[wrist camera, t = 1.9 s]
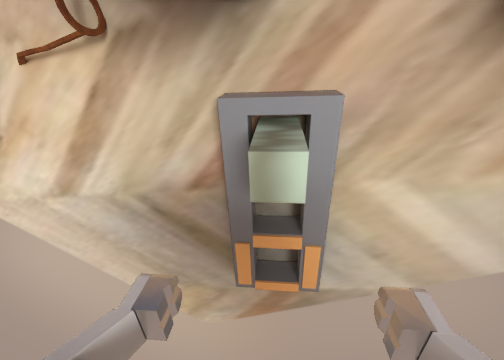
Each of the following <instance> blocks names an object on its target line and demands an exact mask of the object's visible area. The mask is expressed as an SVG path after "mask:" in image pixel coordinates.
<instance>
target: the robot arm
mask: <svg viewBox="0 0 504 360" xmlns="http://www.w3.org/2000/svg"><path fill="white" fill-rule="evenodd" d="M178 282H179V281H178V277H177V276H169V275H157V274H143V273H142V274H140V275H139V276H138V277H137V279H136V280H135V282H134V283H133V285H132V286H131V288H130V290H129V291H128V293H127V294H126V296H125V297H124V299H123V300H122V302H121V303H120V305H119V307H118V308H117V309H113V310H111V311H110V312H108V313H107V314H106V315H104V316H103V317H101V318H100V319H98V320H97V321H96V322H94V323H93V324H92V325H90V326H89V327H87V328H86V329H85V330H83V331H82V332H80V333H79V334H77V335H76V336H75V337H73V338H72V339H70V340H69V341H68V342H66V343H65V344H63V345H62V346H61V347H59V348H58V349H56V350H55V351H54V352H52V353H51V354H49V355H48V356H47V357H45V358H44V359H43V360H128V359H129V358H130V357H131V356H132V355H133V354H134V353H135V352H136V351H137V350H138V349H139V348H140V347H141V346H142V345H143V344H144V343H145V342H146V340H164V341H167V339H168V336H169V334H170V331H171V329H172V326H173V320H172V318H173V317H174V316H175V315H176V314H177V313H178V311H179V308H180V305H181V300H182V292H181V289H180V288H179V287H178V286H177V285H178ZM378 295H379V297H380V298H379V299H378V300H376V301H375V305H374V315H375V319H376V322H377V325H378V328H379V329H381V331H382V332H383V333H384V334H385V335H384V339H383V342H384V344H385V347H386V349H387V352H388V355H389V357H390V360H492V359H491V358H490V357H488V356H487V355H486V354H484V353H483V352H482V351H480V350H479V349H478V348H477V347H475V346H474V345H473V344H471V343H470V342H469V341H467V340H466V339H465V338H464V337H462V336H461V335H460V334H454V332H453V331H452V329H451V328H450V326H449V324H448V323H447V321H446V320H445V318H444V317H443V315H442V314H441V312H440V310H439V309H438V307H437V306H436V304H435V303H434V301H433V300H432V298H431V297H430V295H429V294H428V292H427V291H426V290H424V289H411V288H395V287H381V288H380V289H379V291H378Z"/></svg>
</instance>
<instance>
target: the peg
mask: <svg viewBox="0 0 504 360" xmlns="http://www.w3.org/2000/svg"><path fill="white" fill-rule="evenodd" d="M308 159H309V150H308V147H307V143H306V140H305V137H304V134H303V130H302V127H301V124H300V121H299V117H298V116H260V118H259V121H258V124H257V127H256V130H255V133H254V136H253V139H252V142H251V144H250V147H249V150H248V160H249V181H250V201H251V202H265V203H305V198H306V185H307V172H308Z"/></svg>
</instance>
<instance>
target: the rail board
mask: <svg viewBox="0 0 504 360" xmlns="http://www.w3.org/2000/svg"><path fill="white" fill-rule="evenodd" d="M344 97H345V95H343V94H342V93H340V92H338V91H337V90H322V91H285V92H249V93H225V94H223V95H222V96H220V97H219V98H217V102H218V112H219V122H220V131H221V141H222V151H223V161H224V171H225V181H226V191H227V201H228V210H229V220H230V230H231V240H232V250H233V260H234V270H235V279H236V287H251V288H255V289H261V290H276V291H291V292H298V291H313V292H319V284H320V277H321V269H322V262H323V254H324V247H325V239H326V232H327V224H328V217H329V209H330V202H331V194H332V187H333V179H334V172H335V164H336V157H337V149H338V142H339V134H340V127H341V119H342V112H343V104H344ZM301 114H307V119H306V134H305V140H306V143H307V147H308V150H309V159H308V172H307V185H306V198H305V203H301V210H300V217H294V216H261V215H256V214H255V202H251V201H250V181H249V160H248V150H249V147H250V144H251V142H252V139H253V137H252V115H301ZM257 248H278V249H298V255H297V262H289V261H270V260H257Z"/></svg>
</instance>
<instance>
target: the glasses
mask: <svg viewBox="0 0 504 360" xmlns="http://www.w3.org/2000/svg"><path fill="white" fill-rule="evenodd" d="M89 1H90V2H91V3H92V5H93V7H94V9H95V11H96V13H97V16H98V21H99V24H98V27H97V28H96V29H88V28H86V27H84V26H82V25H80V24H79V23H78V22H77V21H76V20H75V19H74V18H73V17H72V16H71V14H70V13H69V11H68V10H67V8H66V6H65V3H64V1H63V0H55V2H56V4H57V7H58V8H59V10H60V12H61V14H62V15H63V17H64V18H65V19H66V20H67V22H68V23H69V24H70V25H71V26H72V27H73V28H74V29H76V30H77V31H76V32H74V33H71V34H69V35H67V36H65V37H63V38H60V39H58V40H56V41H54V42H51V43H49V44H47V45H45V46H43V47H38V48H34V49H29V50H25V51H22V52H19V53H17V59H18V63H19V65H22V64H25V63H26V61H25V56H28V55H32V54H35V53H39V52H44V51H48V50H51V49H54V48H56V47H58V46H60V45H63V44H65V43H67V42H70V41H72V40H74V39H77V38H79V37H81V36H84V35H88V36H98V35H100V34H102V33H103V32H104V31H105V28H106V21H105V18H104V16H103V13H102V11H101V9H100V6H99V4H98V2H97V0H89Z"/></svg>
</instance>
